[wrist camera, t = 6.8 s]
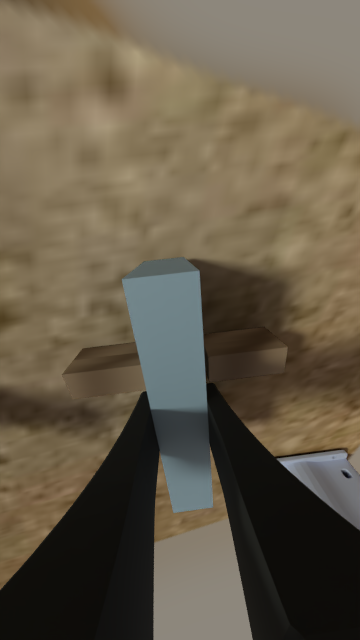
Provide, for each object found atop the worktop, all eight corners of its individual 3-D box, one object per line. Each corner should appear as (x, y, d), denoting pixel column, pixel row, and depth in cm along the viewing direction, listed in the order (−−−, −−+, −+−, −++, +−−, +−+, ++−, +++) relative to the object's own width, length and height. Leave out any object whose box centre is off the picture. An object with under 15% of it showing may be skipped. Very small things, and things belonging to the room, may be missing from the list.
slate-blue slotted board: (183, 257, 11) (199, 270, 6) (197, 419, 17) (213, 507, 11) (144, 261, 11) (121, 279, 6) (171, 423, 17) (173, 512, 11)
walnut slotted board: (264, 326, 14) (287, 347, 12) (262, 348, 15) (283, 372, 12) (82, 348, 14) (61, 374, 11) (90, 370, 15) (72, 399, 12)
